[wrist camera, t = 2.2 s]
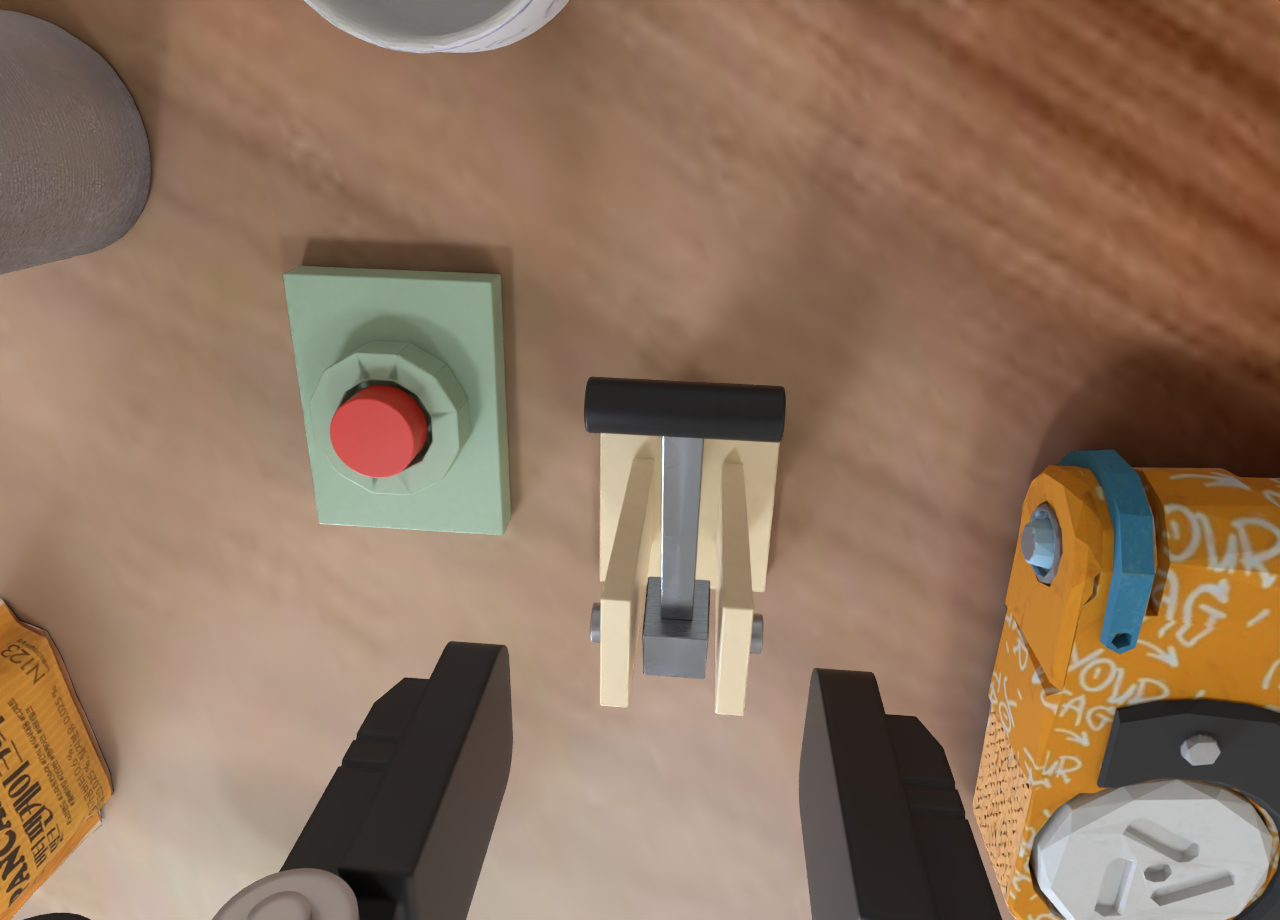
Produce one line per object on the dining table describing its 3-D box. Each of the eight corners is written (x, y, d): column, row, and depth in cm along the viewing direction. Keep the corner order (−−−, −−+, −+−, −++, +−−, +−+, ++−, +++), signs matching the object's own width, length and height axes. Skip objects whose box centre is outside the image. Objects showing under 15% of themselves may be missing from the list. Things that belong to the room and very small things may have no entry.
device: (1799, 517, 28) (1462, 1083, 40) (1567, 426, 35) (1343, 925, 47) (1084, 503, 30) (968, 1048, 42) (1009, 420, 37) (929, 901, 49)
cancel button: (341, 381, 36) (323, 395, 34) (424, 386, 35) (410, 400, 34) (351, 459, 37) (334, 476, 36) (431, 464, 37) (418, 481, 35)
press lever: (592, 352, 22) (579, 418, 20) (784, 361, 22) (787, 429, 20) (611, 614, 32) (604, 672, 30) (744, 623, 32) (743, 682, 30)
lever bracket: (603, 398, 38) (553, 533, 27) (780, 407, 38) (808, 549, 26) (602, 569, 42) (558, 753, 30) (763, 579, 41) (781, 771, 30)
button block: (299, 265, 37) (260, 281, 34) (501, 273, 36) (480, 291, 33) (333, 508, 42) (301, 542, 39) (511, 519, 41) (494, 555, 38)
